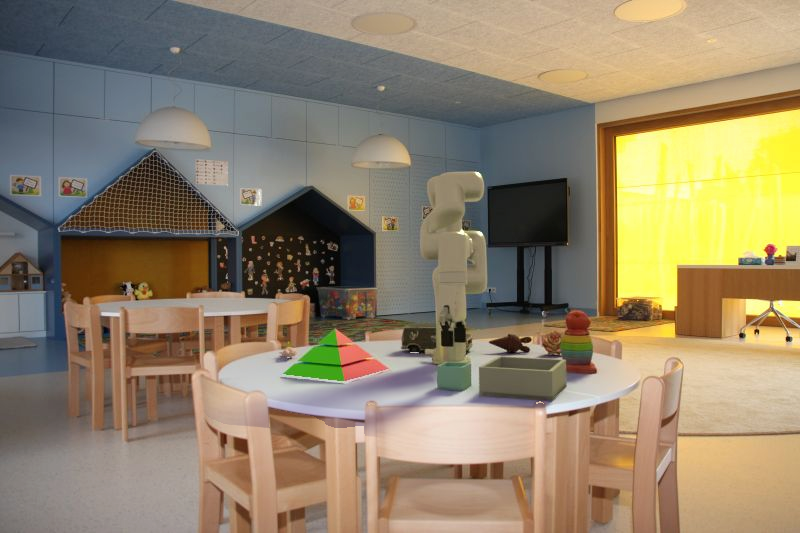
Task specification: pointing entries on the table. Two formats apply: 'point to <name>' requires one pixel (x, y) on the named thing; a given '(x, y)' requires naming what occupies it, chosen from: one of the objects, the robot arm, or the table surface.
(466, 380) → the box
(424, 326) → the toy van
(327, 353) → the pyramid toy
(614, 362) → the table surface
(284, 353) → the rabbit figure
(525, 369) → the big crate
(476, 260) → the robot arm
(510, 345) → the icecream
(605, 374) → the table surface
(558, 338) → the flower
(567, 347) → the stacking bear
